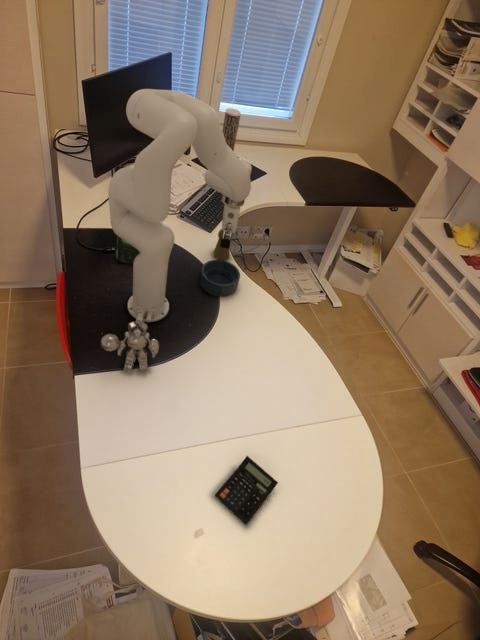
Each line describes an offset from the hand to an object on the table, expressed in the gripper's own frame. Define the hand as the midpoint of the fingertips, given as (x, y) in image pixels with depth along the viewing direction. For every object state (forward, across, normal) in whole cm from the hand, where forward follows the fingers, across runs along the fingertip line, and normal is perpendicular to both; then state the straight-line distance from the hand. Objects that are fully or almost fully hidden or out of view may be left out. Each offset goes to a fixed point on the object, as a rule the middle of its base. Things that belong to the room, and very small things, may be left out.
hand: (225, 238), depth 147 cm
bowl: (+7, -16, 0) cm, 18 cm away
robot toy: (+6, -54, +22) cm, 59 cm away
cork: (+7, 0, 0) cm, 8 cm away
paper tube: (+9, +70, +3) cm, 70 cm away
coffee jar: (+7, -10, +31) cm, 34 cm away
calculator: (+6, -86, -11) cm, 86 cm away
